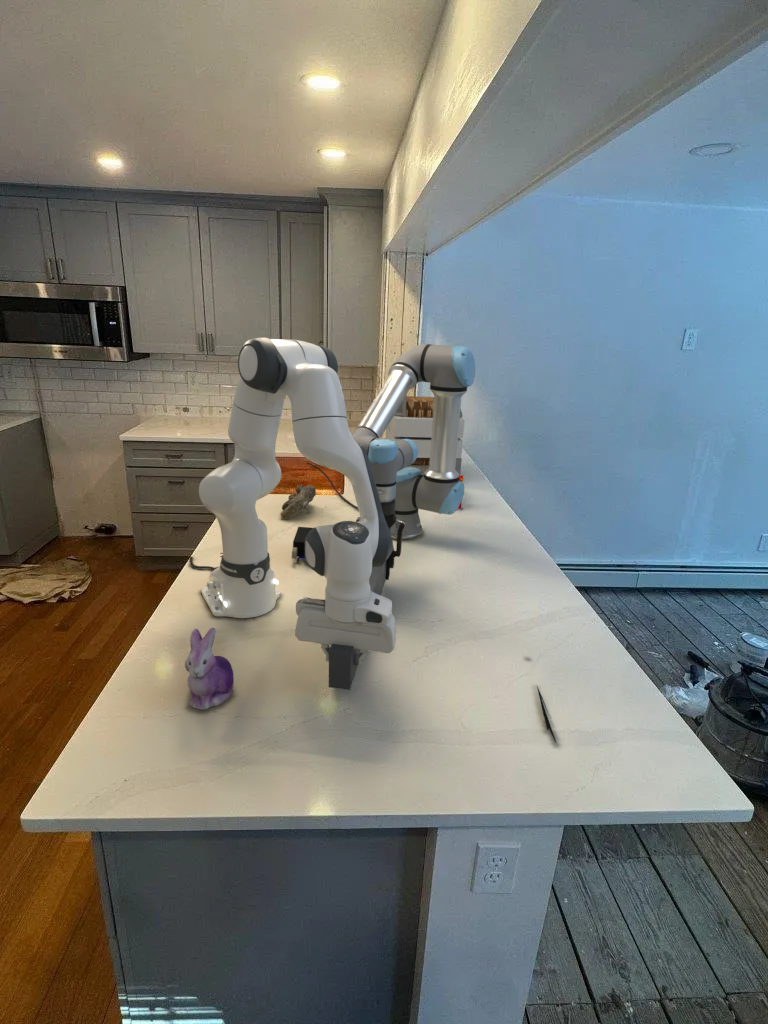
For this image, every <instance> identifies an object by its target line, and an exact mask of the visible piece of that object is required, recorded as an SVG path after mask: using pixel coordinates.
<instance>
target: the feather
mask: <svg viewBox="0 0 768 1024" xmlns="http://www.w3.org/2000/svg"><path fill="white" fill-rule="evenodd" d="M527 659H529V657H527ZM536 688H537V692H538V697H539V703H540V706H541V711H542V715H543V719H544V722H545V727H546V731H549V732H550V734H551V737H552V738H553V740H554V742H555V743H557V740H556V738H555V735H554V732H553V729H555V728H556V727H555V725H553V726H551V724H553V720H552V718H551V714H550V713H549V711H548V708H547V705H546V703H545V701H544V698H543V696H542V694H541V691H540V689H539V687H538V686H536ZM550 722H551V723H550ZM552 727H553V729H552Z"/></svg>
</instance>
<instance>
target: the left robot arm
mask: <svg viewBox="0 0 768 1024" xmlns="http://www.w3.org/2000/svg"><path fill="white" fill-rule="evenodd" d="M237 370H238V373H239V379H238V382H237V384H236V388H235V393H234V396H233V402H232V407H231V412H230V419H229V423H228V429H227V435H228V437H229V439H230V441H232V443H233V444H234V456H233V458H232V461H231V462H229V463H226V464H223V465H221V466H219V467H217V468H215V469H213V470H212V471H210V472H209V473H208V474H207V475H206V476H204V477H203V478H202V480H201V481H200V483H199V486H198V496H199V500H200V502H201V504H202V505H203V506H204V508H205V509H206V510H207V511H208V512H210V513H212V514H213V515H214V516H215V518H216V520H217V523H218V524H219V525H218V526H219V528H220V535H221V544H222V552H220V553H219V554H220V556H219V558H221V559H220V563H219V564H220V565H219V566H216V567H213V566H207V565H205V566H204V565H195V564H194V563H193V562H194V561H193V560H194V559H193V558H194V557H193V556H190V557H189V564H190V566H191V567H192V568H194V569H199V570H200V569H202V570H205V569H206V570H212V571H211V573H210V574H209V581H207V583H206V585H205V586H203V587H202V588H201V595H202V596H203V599H204V600H205V602H206V604H207V606H208V608H209V610H210V612H211V613H212V615H213V616H214V617H230V618H236V619H250V618H256V617H260V616H263V615H265V614H267V613H270V612H271V611H272V610H274V608H275V606H276V604H277V600H278V599H279V598H280V596H281V593H280V591H279V590H277V588H276V585H279V580H278V579H276V578H275V571H274V569H273V568H272V567H271V556H270V553H269V550H268V549H269V548H268V547H269V545H268V527H267V525H266V523H265V522H264V521H263V520H262V519H260V518H259V517H258V514H257V510H256V504H257V501H259V500H261V499H263V498H265V497H266V496H268V495H269V494H271V493H272V492H273V490H275V488H276V487H277V486H278V485H279V484H280V482H281V480H282V469H281V466H280V464H279V462H278V461H277V457H276V456H277V455H276V446H277V445H276V444H277V438H278V432H279V428H280V423H281V418H282V415H283V410H284V403H285V398H286V396H287V397H288V398H289V401H290V407H291V422H292V431H293V432H292V433H293V438H294V442H295V446H296V448H297V450H298V452H299V453H300V455H302V456H303V457H304V458H305V459H306V460H308V461H310V462H311V463H313V464H315V465H318V466H321V467H324V468H326V469H330V470H333V471H335V472H338V473H340V474H342V475H344V476H345V477H346V478H347V479H348V481H349V482H350V484H351V487H352V490H353V491H352V492H353V495H354V498H355V502H356V507H358V509H357V510H358V513H359V517H360V520H359V521H358V522H356V521H353V520H342V521H339V522H337V523H332V524H331V523H330V524H324V525H318V526H315V527H312V528H313V529H311V531H310V532H309V533H308V535H307V536H306V538H305V541H304V556H305V559H304V562H305V564H306V565H307V567H308V568H310V569H311V570H312V571H314V573H316V574H317V575H319V576H320V577H324V578H325V579H326V585H325V590H324V599H321V598H312V597H311V598H310V597H303V598H301V599H298V600H297V602H296V603H295V613H296V615H297V620H296V625H295V633H294V634H295V637H296V639H297V640H298V641H299V642H305V643H311V644H312V643H314V644H320V648H321V650H322V651H323V653H324V654H325V662H329V650H330V647H331V645H332V644H338V645H347V646H354V648H355V649H360V654H356V655H355V658H354V665H357V666H358V667H362V665H363V659H364V658H365V657H366V655H367V654H368V651H369V652H370V651H371V652H377V653H383V654H390V653H392V652H393V651H394V650H395V647H396V641H397V630H396V629H397V626H396V625H397V624H396V619H395V616H394V615H393V613H392V611H393V602H392V600H391V599H389V598H387V597H385V596H383V595H381V596H380V595H378V594H376V593H374V592H372V591H371V590H370V584H369V578H370V576H371V573H372V567H380V566H382V565H383V564H384V563H385V561H386V560H387V559H388V558H389V556H390V554H391V552H392V550H393V547H394V542H393V541H394V540H393V539H392V536H391V533H390V530H389V528H388V525H387V523H386V520H385V517H384V514H383V511H382V507H381V503H380V499H379V495H378V491H377V487H376V483H375V479H374V475H373V472H372V468H371V465H370V462H369V458H368V456H367V453H366V451H365V449H364V447H363V446H362V445H360V444H358V443H357V442H356V441H355V440H354V438H353V436H352V434H353V433H352V432H351V430H350V427H349V424H348V423H349V422H348V415H347V408H346V402H345V397H344V392H343V388H342V383H341V381H340V377H339V375H338V372H339V371H338V370H339V366H338V360H337V357H336V355H335V353H334V352H333V351H332V350H331V349H330V348H329V347H327V346H324V345H322V344H320V343H311V342H307V341H303V340H300V339H292V338H289V339H285V338H283V339H282V338H269V337H265V336H264V337H255V338H251V339H248V340H246V341H245V342H244V344H243V345H242V346H241V348H240V351H239V354H238V358H237ZM351 433H352V434H351Z"/></svg>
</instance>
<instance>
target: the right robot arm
mask: <svg viewBox="0 0 768 1024" xmlns="http://www.w3.org/2000/svg"><path fill="white" fill-rule="evenodd" d="M475 377H476V361H475V357H474V354H473V352H472V350H471V349H470V348H468V347H466V346H461V345H460V346H459V345H449V344H448V345H446V344H432V343H431V344H430V343H421V344H420V343H419V344H417V345H415V346H412V347H411V348H409V349H407V350H406V351H404V352H402V354H401V355H399V356H398V357H397V358H396V359H395V360H394V362H393V363H391V366H390V367H389V369H388V372H387V379H386V380H385V382H384V383H383V384H382V386H381V388H380V390H379V391H378V393H377V394H376V396H375V398H374V400H373V401H372V402H371V405H370V406H369V408H368V409H367V411H366V412H365V414H364V415H363V417H362V419H361V421H360V422H359V423H358V426H357V427H356V428H355V429H354V431H353V432H351V434H352V436H353V438H354V440H355V441H356V442H357V443H358V444H360V445H362V446H363V447H364V449H365V451H366V453H367V456H368V458H369V462H370V465H371V468H372V472H373V475H374V479H375V483H376V487H377V491H378V495H379V499H380V503H381V507H382V511H383V514H384V517H385V520H386V523H387V525H388V528H389V530H390V533H391V536H392V540H395V541H396V546H395V547H396V548H395V547H394V546H393V550H392V552H391V554H390V556H389V558H388V559H387V563H386V581H389V580H390V575H391V569H394V566H395V558H396V557H397V558H399V557H401V555H402V546H403V541H410V540H415V539H418V538H420V537H421V536H422V535H423V525H422V523H421V518H420V515H419V510H421V511H422V510H423V511H427V512H432V513H437V514H439V515H442V514H443V515H453V514H454V513H456V512H457V510H458V509H459V508H458V507H459V505H460V503H461V500H462V501H463V497H464V493H465V483H464V481H463V482H461V481H459V473H458V472H457V471H456V470H455V465H456V454H457V443H458V431H459V420H460V408H461V409H462V407H461V406H462V397H463V396H464V395H465V394H466V393H467V392H468V388H469V387H471V386H472V385H473V384H474V383H475ZM422 382H423V383H429V390H430V392H431V393H432V394H433V397H434V407H433V421H432V435H431V449H430V463H429V465H428V468H427V469H426V470H424V472H423V474H422V470H421V468H419V467H415V466H411V467H410V465H411V464H412V463H413V462H414V461H415V460H416V459H417V456H418V449H417V446H416V444H415V443H414V442H413V441H411V440H409V439H399V440H398V441H395V440H388V439H385V438H382V437H383V435H384V434H385V433H386V428H387V427H388V425H389V423H390V421H391V420H392V418H393V416H394V415H395V413H396V411H397V410H398V408H399V406H400V405H401V403H402V401H403V399H404V398H405V396H406V394H408V393H409V391H410V390H412V389H414V388H415V387H416V386H417V384H418V383H422ZM306 464H307V465H309V466H311V467H313V468H315V469H316V470H318V471H319V472H320V473H322V474H323V475H324V476H325V477H326V479H327V480H328V482H329V483H330V485H331V486H332V488H333V489H334V491H335V492H336V494H337V495H338V496H339V497H340V498H341V499H342V500H343V501H344V502H345V503H347V504H348V505H350V506H352V508H355V509H356V510H358V506H357V505H355V504H353V503H352V502H350V501H349V500H347V498H345V497H344V496H343V495H342V494H341V493H340V492H339V491H338V489H337V488H336V486H335V485H334V483H333V482H332V480H331V479H330V477H329V476H328V475H327V473H325V472H324V470H322V469H321V468H320V467H318V466H316V465H314V464H312V463H311V462H308V461H307V462H306ZM359 520H360V516H358V517H357V518H356V520H355V522H358V521H359ZM395 549H396V550H395Z"/></svg>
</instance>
